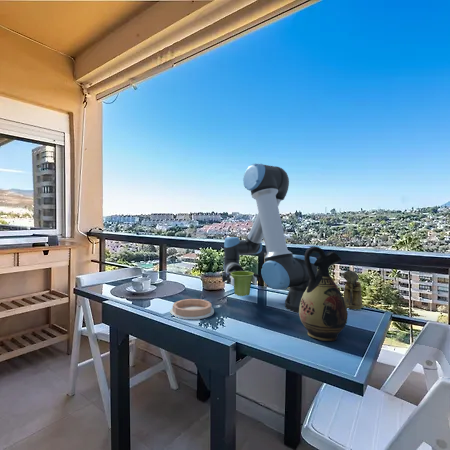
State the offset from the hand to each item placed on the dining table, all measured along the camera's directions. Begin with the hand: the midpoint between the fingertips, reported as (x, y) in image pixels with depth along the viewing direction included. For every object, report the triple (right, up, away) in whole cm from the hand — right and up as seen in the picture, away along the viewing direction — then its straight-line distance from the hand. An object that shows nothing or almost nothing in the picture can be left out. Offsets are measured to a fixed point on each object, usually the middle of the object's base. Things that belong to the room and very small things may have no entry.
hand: (244, 281), depth 114 cm
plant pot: (-1, -6, +5) cm, 8 cm away
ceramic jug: (+24, -15, -16) cm, 33 cm away
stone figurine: (+48, -15, +14) cm, 52 cm away
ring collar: (-21, -13, +6) cm, 26 cm away
